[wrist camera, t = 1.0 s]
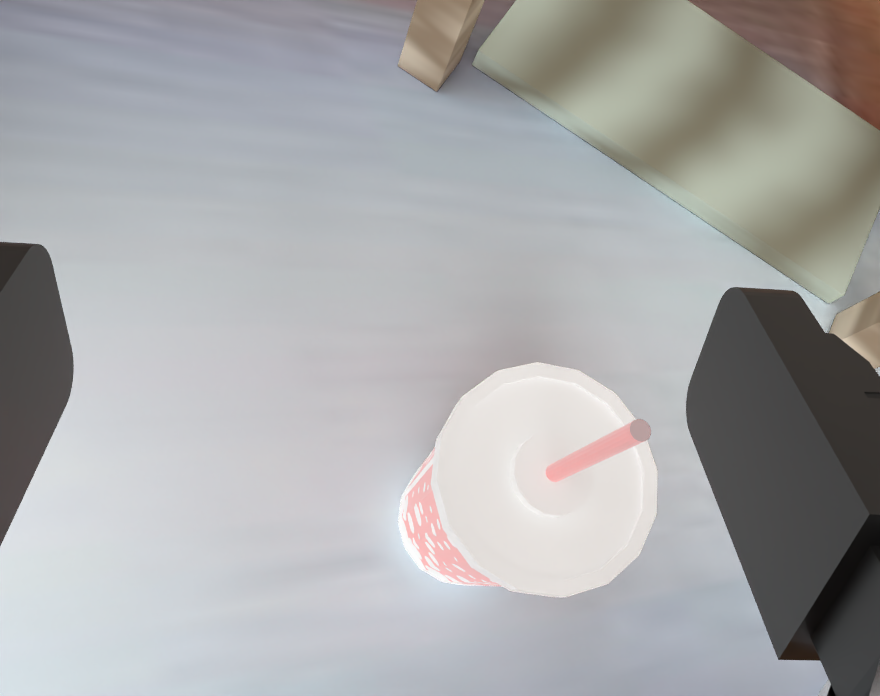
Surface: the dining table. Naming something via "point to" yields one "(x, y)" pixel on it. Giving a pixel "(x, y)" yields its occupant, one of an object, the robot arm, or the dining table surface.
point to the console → (689, 125)
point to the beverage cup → (533, 486)
